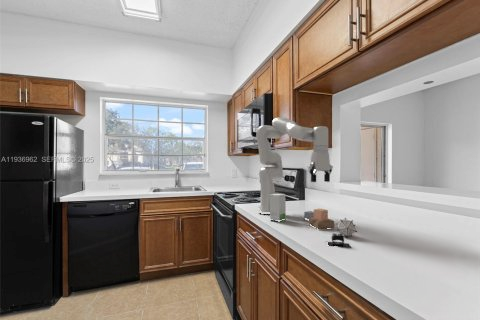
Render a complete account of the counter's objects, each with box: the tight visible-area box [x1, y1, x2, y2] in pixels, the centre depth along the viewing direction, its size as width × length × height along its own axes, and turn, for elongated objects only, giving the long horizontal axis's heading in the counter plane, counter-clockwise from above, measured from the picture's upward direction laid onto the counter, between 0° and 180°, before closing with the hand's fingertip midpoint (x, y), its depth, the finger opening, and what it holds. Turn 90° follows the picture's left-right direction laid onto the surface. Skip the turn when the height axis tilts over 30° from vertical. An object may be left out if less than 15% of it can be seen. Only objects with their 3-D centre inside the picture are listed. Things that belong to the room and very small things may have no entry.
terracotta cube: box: [313, 208, 329, 221], centre depth 121 cm, size 5×5×5 cm
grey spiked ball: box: [335, 217, 358, 239], centre depth 105 cm, size 9×8×10 cm
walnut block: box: [308, 218, 335, 230], centre depth 121 cm, size 9×9×4 cm
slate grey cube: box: [303, 210, 314, 219], centre depth 136 cm, size 5×5×5 cm
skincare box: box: [269, 193, 287, 220], centre depth 135 cm, size 8×7×16 cm
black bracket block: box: [327, 233, 352, 249], centre depth 93 cm, size 12×7×5 cm, turn 75°
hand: (320, 181), depth 122 cm, fingers open, 9 cm apart
